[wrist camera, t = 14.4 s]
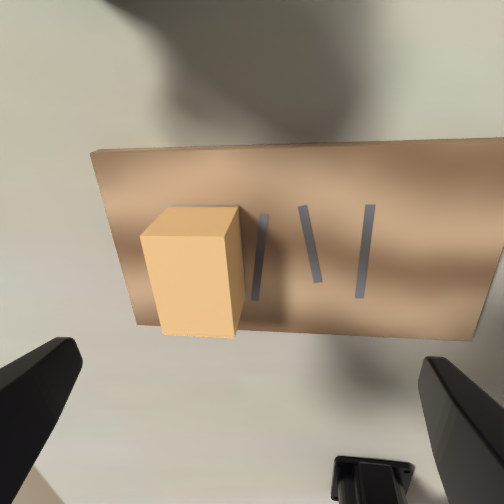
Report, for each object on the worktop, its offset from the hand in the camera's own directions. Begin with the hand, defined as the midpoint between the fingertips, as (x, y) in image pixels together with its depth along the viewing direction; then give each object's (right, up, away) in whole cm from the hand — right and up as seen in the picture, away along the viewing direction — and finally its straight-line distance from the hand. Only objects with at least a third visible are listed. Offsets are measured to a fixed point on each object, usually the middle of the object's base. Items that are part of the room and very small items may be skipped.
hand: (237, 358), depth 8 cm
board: (+3, +3, +12) cm, 12 cm away
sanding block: (-2, +3, +11) cm, 12 cm away
